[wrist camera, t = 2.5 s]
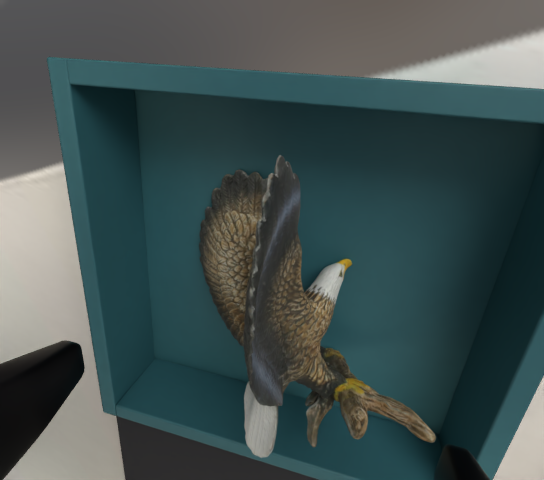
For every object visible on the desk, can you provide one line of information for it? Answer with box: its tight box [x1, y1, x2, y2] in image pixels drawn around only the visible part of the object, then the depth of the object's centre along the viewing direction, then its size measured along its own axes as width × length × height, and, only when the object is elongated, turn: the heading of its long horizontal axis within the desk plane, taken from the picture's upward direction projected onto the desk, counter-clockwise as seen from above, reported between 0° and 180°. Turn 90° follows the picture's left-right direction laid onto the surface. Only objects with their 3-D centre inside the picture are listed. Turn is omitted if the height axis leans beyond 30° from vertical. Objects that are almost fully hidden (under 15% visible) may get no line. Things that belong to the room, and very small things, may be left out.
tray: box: [47, 57, 544, 480], centre depth 13 cm, size 15×14×4 cm
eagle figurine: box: [199, 155, 436, 458], centre depth 12 cm, size 8×7×9 cm
